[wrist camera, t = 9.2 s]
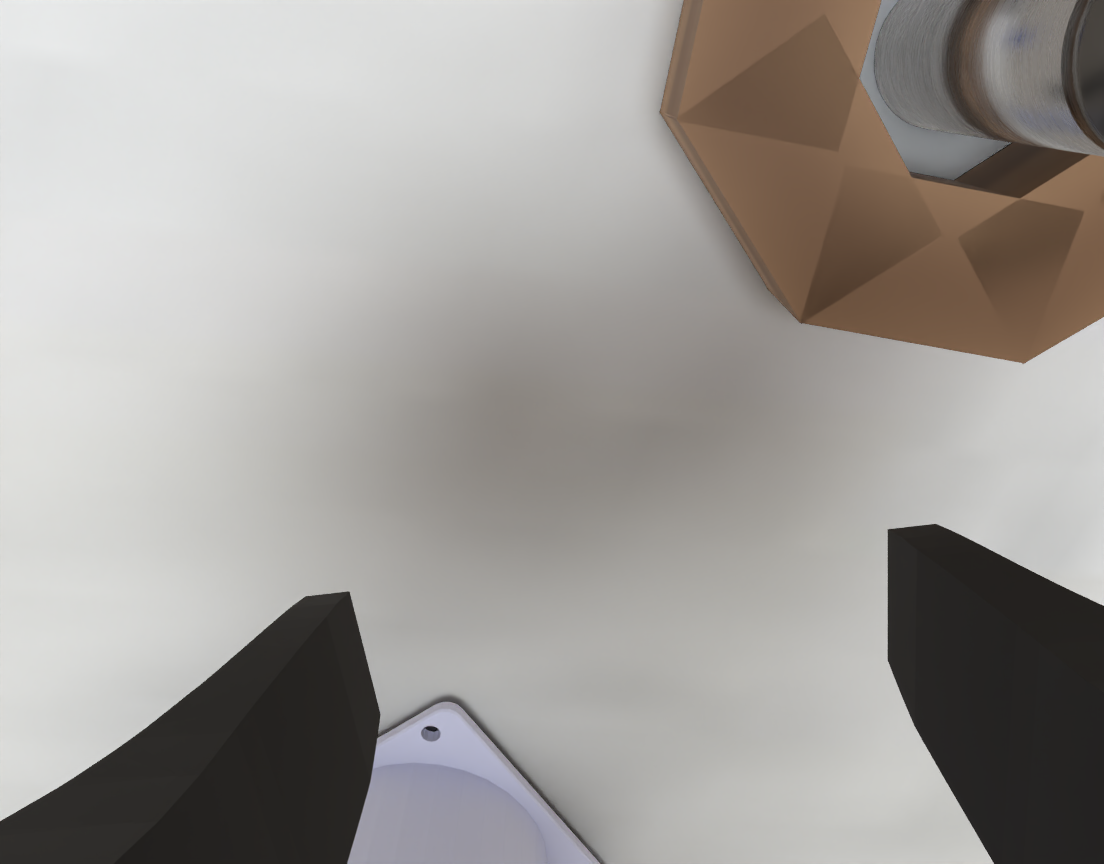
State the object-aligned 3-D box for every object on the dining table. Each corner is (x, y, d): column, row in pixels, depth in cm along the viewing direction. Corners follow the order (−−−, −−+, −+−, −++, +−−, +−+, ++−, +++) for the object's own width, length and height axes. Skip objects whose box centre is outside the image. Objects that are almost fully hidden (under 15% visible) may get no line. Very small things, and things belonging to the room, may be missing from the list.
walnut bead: (835, 400, 21) (877, 449, 19) (573, -29, 18) (575, -48, 15) (1303, 118, 19) (1431, 127, 16) (1098, -434, 16) (1214, -543, 13)
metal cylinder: (916, 159, 19) (1137, 213, 12) (847, 34, 18) (1041, 10, 11) (1047, 70, 19) (1367, 70, 11) (982, -63, 18) (1285, -159, 10)
